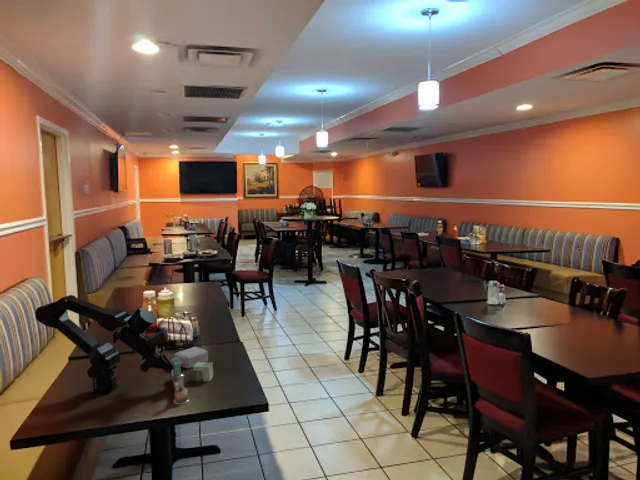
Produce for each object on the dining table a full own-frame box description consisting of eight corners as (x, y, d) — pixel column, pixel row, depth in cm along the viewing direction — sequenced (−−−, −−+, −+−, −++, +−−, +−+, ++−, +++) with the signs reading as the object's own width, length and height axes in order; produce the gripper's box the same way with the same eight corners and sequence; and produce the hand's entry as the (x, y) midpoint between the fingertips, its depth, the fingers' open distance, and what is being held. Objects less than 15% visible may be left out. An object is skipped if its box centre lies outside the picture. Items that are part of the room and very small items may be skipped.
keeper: (193, 380, 166) (192, 366, 166) (197, 376, 170) (197, 362, 170) (209, 381, 166) (208, 366, 165) (213, 376, 170) (212, 362, 169)
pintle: (170, 404, 149) (168, 378, 148) (177, 396, 154) (175, 371, 153) (186, 404, 148) (184, 378, 147) (192, 397, 154) (191, 371, 152)
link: (188, 400, 150) (187, 373, 149) (175, 403, 149) (174, 375, 148) (181, 376, 169) (179, 352, 168) (169, 378, 168) (167, 354, 167)
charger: (161, 368, 179) (194, 357, 190) (175, 374, 173) (208, 362, 184) (160, 356, 178) (193, 345, 190) (174, 362, 172) (207, 350, 184)
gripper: (148, 331, 148) (186, 361, 152) (156, 315, 166) (190, 342, 170) (124, 357, 147) (162, 387, 151) (134, 338, 166) (169, 365, 169)
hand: (172, 368), depth 160 cm, fingers closed
